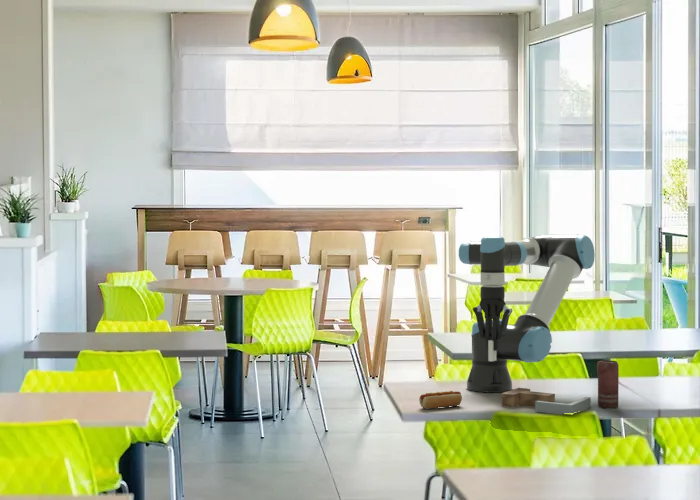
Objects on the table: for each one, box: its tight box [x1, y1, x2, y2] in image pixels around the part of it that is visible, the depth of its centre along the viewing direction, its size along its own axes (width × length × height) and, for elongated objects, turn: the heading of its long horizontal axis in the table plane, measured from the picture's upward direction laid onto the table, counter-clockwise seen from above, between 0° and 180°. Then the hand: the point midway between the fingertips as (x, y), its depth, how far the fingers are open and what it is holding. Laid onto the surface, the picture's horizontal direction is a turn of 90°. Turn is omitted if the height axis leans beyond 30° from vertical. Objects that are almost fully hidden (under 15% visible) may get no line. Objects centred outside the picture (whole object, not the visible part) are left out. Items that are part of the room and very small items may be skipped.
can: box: [596, 359, 620, 409], centre depth 325 cm, size 6×6×14 cm
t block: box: [501, 387, 556, 408], centre depth 329 cm, size 14×12×4 cm
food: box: [418, 390, 463, 409], centre depth 327 cm, size 14×6×5 cm, turn 114°
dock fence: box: [534, 396, 592, 415], centre depth 322 cm, size 12×15×3 cm
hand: (492, 360), depth 336 cm, fingers closed
